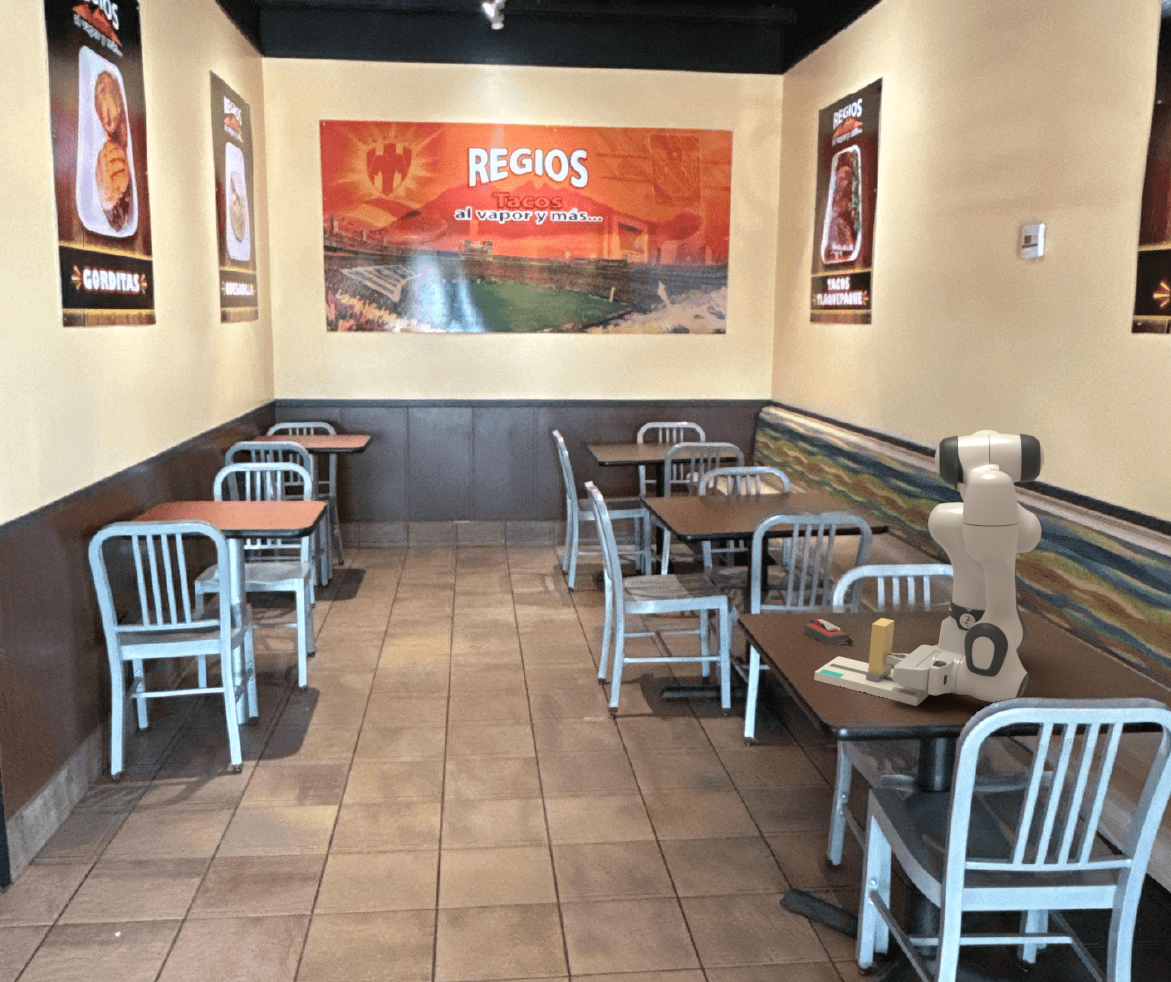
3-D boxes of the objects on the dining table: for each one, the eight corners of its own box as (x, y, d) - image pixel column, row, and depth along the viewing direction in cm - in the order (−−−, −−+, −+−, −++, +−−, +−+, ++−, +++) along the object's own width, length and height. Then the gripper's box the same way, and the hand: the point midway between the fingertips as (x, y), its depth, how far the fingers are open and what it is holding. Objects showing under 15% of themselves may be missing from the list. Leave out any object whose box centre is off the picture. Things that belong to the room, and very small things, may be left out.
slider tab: (878, 669, 244) (883, 616, 241) (891, 672, 242) (895, 619, 240) (865, 678, 237) (870, 624, 235) (878, 682, 236) (883, 627, 233)
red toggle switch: (859, 646, 268) (814, 623, 286) (861, 629, 267) (815, 607, 285) (831, 649, 264) (787, 626, 283) (832, 633, 264) (788, 610, 282)
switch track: (837, 664, 253) (838, 655, 252) (936, 688, 239) (937, 679, 239) (814, 680, 242) (814, 671, 241) (916, 706, 228) (917, 697, 228)
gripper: (963, 645, 238) (903, 633, 246) (935, 670, 221) (872, 655, 229) (960, 672, 239) (901, 658, 247) (932, 698, 223) (869, 682, 230)
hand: (887, 657), depth 238 cm, fingers closed, pressing on slider tab
